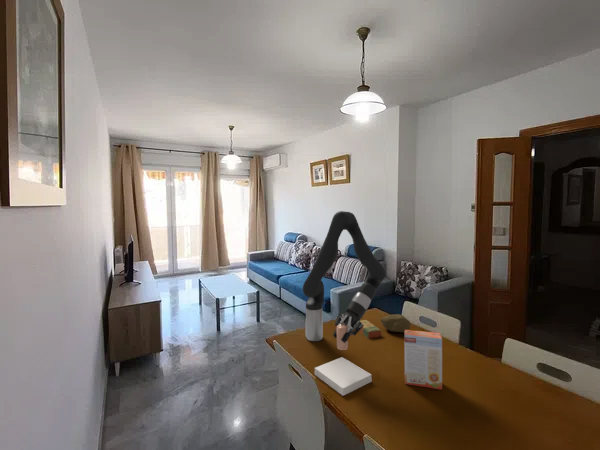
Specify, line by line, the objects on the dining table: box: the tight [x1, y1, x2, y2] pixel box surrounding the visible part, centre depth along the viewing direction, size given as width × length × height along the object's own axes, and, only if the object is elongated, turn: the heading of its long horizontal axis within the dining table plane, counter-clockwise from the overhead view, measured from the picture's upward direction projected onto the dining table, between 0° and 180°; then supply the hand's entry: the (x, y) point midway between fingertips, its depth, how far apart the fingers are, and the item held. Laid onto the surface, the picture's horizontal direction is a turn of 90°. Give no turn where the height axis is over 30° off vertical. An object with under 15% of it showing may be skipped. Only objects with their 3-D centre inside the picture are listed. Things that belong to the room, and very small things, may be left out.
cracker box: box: [404, 329, 443, 390], centre depth 120 cm, size 14×6×21 cm, turn 71°
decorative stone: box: [380, 313, 412, 333], centre depth 171 cm, size 17×11×10 cm, turn 56°
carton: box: [359, 319, 382, 339], centre depth 172 cm, size 8×16×4 cm, turn 17°
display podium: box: [314, 356, 373, 396], centre depth 125 cm, size 18×16×3 cm
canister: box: [336, 325, 349, 351], centre depth 125 cm, size 5×5×9 cm
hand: (338, 339), depth 123 cm, fingers closed on canister, 4 cm apart
